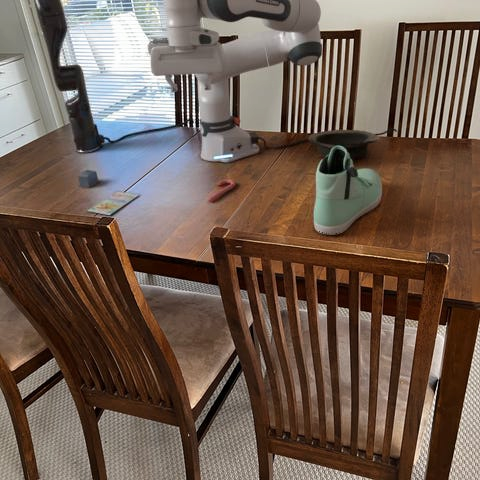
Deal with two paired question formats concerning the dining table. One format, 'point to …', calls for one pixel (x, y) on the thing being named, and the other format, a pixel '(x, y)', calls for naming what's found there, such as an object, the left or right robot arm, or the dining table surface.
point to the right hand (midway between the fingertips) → (191, 90)
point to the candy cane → (222, 189)
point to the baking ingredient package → (113, 203)
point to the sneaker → (343, 192)
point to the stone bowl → (343, 141)
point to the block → (88, 178)
